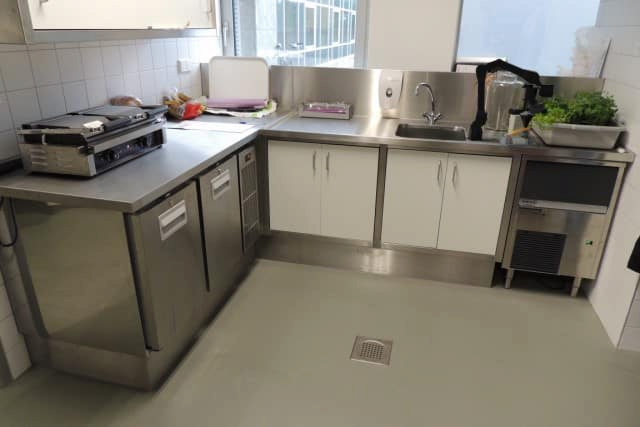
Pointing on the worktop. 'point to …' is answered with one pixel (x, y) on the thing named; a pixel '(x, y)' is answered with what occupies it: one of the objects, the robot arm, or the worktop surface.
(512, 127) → the skincare box
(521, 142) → the clamp base
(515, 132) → the strap
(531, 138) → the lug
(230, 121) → the worktop surface
